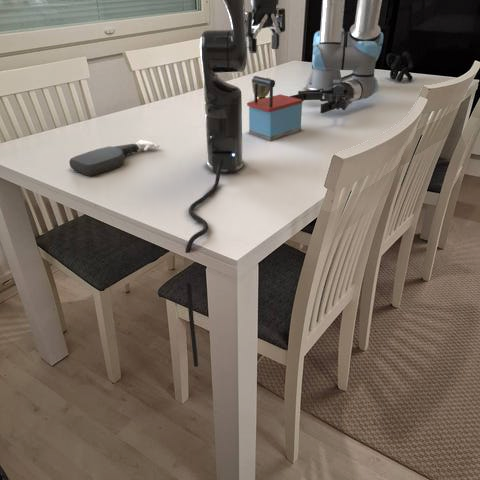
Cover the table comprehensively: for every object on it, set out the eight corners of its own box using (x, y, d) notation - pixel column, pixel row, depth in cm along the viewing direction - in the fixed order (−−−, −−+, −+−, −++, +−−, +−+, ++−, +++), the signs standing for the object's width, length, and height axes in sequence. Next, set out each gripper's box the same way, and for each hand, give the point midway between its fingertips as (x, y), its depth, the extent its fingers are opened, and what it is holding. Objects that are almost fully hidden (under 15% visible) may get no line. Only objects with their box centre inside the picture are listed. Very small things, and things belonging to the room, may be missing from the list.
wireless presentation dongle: (67, 168, 120) (139, 144, 136) (91, 178, 114) (163, 151, 130) (65, 157, 118) (137, 134, 134) (89, 167, 112) (162, 142, 128)
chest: (270, 140, 136) (270, 111, 131) (249, 133, 142) (248, 105, 138) (300, 130, 144) (302, 103, 139) (279, 123, 150) (280, 97, 145)
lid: (268, 112, 131) (269, 81, 126) (246, 105, 137) (246, 76, 133) (302, 102, 139) (303, 74, 134) (280, 97, 145) (281, 69, 141)
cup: (248, 101, 174) (248, 80, 169) (256, 97, 179) (256, 76, 175) (265, 103, 171) (266, 82, 166) (273, 99, 176) (274, 78, 172)
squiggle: (400, 92, 202) (376, 71, 205) (417, 76, 202) (392, 56, 205) (405, 81, 191) (380, 59, 194) (423, 64, 191) (397, 42, 194)
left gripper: (273, -16, 125) (272, 46, 133) (235, -14, 117) (236, 52, 125) (293, -16, 120) (290, 49, 128) (254, -13, 112) (254, 55, 121)
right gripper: (374, 110, 151) (334, 124, 140) (317, 97, 167) (277, 108, 155) (377, 88, 147) (337, 100, 136) (318, 76, 163) (278, 86, 151)
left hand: (264, 50), depth 127 cm, fingers open, 8 cm apart
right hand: (305, 104), depth 145 cm, fingers open, 13 cm apart
